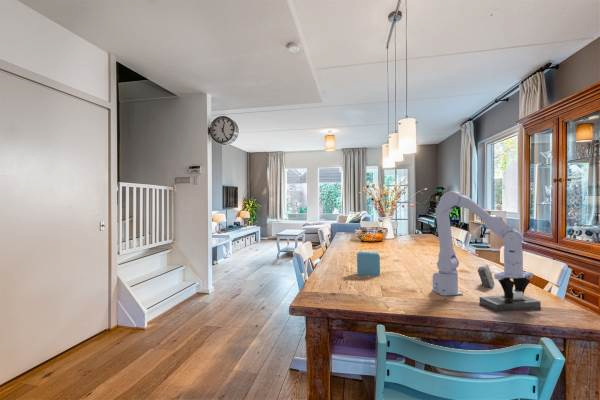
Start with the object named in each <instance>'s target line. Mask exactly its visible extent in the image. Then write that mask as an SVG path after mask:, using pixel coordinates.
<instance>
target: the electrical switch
mask: <svg viewBox="0 0 600 400" xmlns="http://www.w3.org/2000/svg"><path fill="white" fill-rule="evenodd" d="M477 273H478V276H479V279H480V282H481V284H482V287H488V288H489V287H490V289H493V288H494V285H495V281H494V280H495V279H494V277H493V274H492V271H491V269H490V266H489V265H488V263H487V264H484V266H479V267H478V269H477Z"/></svg>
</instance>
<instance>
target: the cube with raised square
mask: <svg viewBox="0 0 600 400" xmlns="http://www.w3.org/2000/svg"><path fill="white" fill-rule="evenodd" d="M503 295H504V298H505V299H508V300H510V301H513V302H521V301H523V295H524V294H523V292H522V291H519V290H517V289H515V287H513V291H512V299H509V298H506V297H505V294H504V293H503Z"/></svg>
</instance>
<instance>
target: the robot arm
mask: <svg viewBox="0 0 600 400" xmlns="http://www.w3.org/2000/svg"><path fill="white" fill-rule="evenodd" d="M456 208H464V209H467V210H468V211H470V212H471V213H473V214H474V215H475V216H476V217H478V218H479V219H481V220H483V222H484V226H485V228H487V229H488V230H490V231H491V232H492V233H494V234H495V235H496V236H497V237H499V238H501V240H502V242H503V244H504V245H503V247H504V248H503V271H502V272H497V273H494V275H493V276H494V277H493V280H497V281H498V283H499V284H500V285H501V288H502V289H503V295H504V294H505V297H506V298H509V299H512V291H513V288H514V289H517V290H519V291H522V292H523V295H524V294H525V291H526V289H527V287H528V286H529V284H530V283H531V279H533V277H534V274H533V272H530V271H524V253H523V252H524V251H523V244H522V242H523V240H524V235H523V234H522V232H521V231H520V230H519V229H517V228H515V226H513V225H510V224H509V223H508V222H506V221H505V220H503V219H504V218H503V216H501V215H500V216H499V215H494V214H493V215H491V214H490V213H488V212H487V211H486V210H485V209H484V208H483V207H481V206H480V205H479V204H478V203H477V202H475V201H474V200H473V199H472V198H470V197H468V195H466V194H463V193H462V192H461V191H453V190H450V191H446V192H445V193H444V194H442V195H441V196H440V200H439V202H438V204H437V205H436V208H435V218H436V225H437V237H438V242H439V243H438V244H439V252H438V260H437V262H436V266H437V269H438V271H437V272H434V273H433V274H432V288H431V290H432V291H433V292H435V293H437V294H438V295H441V296H443V297H444V296H446V297H447V296H456V295H457V296H458V295H459V296H460V295H464V294H463V292H461V291H459V282H458V281H459V279H458V278H459V277H458V276H459V275H458V273H459V272H458V270H457V268H458V267H459V264H460V261H459V259H458V257H457V255H456V252H455V250H454V245H453V238H452V237H453V236H452V230H451V229H452V228H451V220H450V213H451V212H452V211H453V210H454V209H456Z"/></svg>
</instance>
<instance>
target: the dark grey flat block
mask: <svg viewBox="0 0 600 400" xmlns="http://www.w3.org/2000/svg"><path fill="white" fill-rule="evenodd" d="M479 304H480V305H481V306H484V307H486V308H488V309H490V310H493V311H495V312H509V311H522V310H537V309H541V308H542V306H541V300H537V299H535V298H532V297H529V296H527V295H524V294H523V301H521V302H513V301H510V300H508V299H505V298H504V294H503V295H492V296H491V295H490V296H480V297H479Z"/></svg>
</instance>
